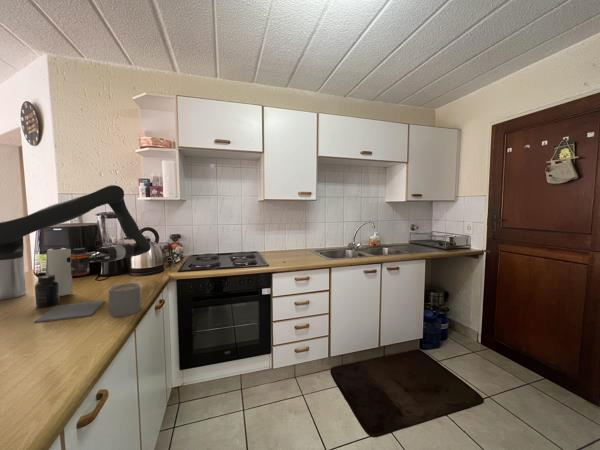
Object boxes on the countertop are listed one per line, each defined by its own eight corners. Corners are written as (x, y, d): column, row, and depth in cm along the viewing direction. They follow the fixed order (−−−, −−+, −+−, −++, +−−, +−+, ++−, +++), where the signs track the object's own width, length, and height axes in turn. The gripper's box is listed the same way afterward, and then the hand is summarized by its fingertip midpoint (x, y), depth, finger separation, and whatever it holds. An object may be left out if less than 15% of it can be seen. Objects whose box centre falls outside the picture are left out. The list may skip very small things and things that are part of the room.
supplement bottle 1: (63, 303, 103) (62, 275, 102) (42, 309, 96) (40, 279, 95) (53, 300, 105) (52, 273, 104) (32, 306, 99) (30, 277, 98)
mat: (34, 322, 86) (34, 321, 86) (55, 307, 99) (55, 305, 98) (91, 315, 92) (91, 314, 92) (104, 302, 105) (104, 300, 105)
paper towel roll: (47, 295, 110) (44, 249, 108) (64, 291, 115) (61, 247, 114) (56, 298, 107) (53, 250, 105) (72, 294, 113) (70, 248, 111)
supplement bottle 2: (93, 272, 109) (92, 247, 108) (79, 276, 103) (78, 250, 102) (80, 272, 110) (79, 247, 109) (67, 275, 104) (65, 249, 103)
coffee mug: (135, 315, 93) (134, 289, 92) (104, 318, 90) (103, 292, 89) (146, 302, 106) (146, 279, 105) (120, 304, 103) (119, 280, 102)
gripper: (99, 244, 121) (59, 250, 105) (123, 246, 118) (86, 253, 102) (100, 259, 122) (60, 267, 105) (123, 262, 119) (87, 270, 102)
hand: (73, 260), depth 103 cm, fingers closed on supplement bottle 2, 6 cm apart
